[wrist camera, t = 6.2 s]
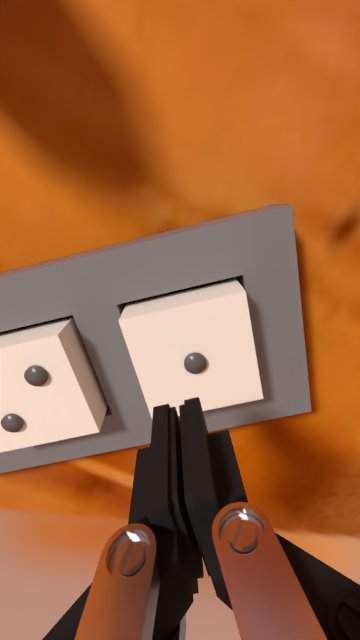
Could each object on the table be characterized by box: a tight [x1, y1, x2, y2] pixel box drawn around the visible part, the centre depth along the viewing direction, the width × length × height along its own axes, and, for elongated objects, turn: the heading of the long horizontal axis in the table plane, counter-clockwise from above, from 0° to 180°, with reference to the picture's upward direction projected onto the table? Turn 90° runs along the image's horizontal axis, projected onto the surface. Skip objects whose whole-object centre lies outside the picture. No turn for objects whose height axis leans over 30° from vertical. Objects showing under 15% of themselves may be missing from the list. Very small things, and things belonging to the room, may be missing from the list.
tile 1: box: [118, 279, 263, 419], centre depth 16 cm, size 6×6×3 cm
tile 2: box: [0, 317, 108, 453], centre depth 16 cm, size 6×6×3 cm
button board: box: [0, 204, 311, 473], centre depth 18 cm, size 30×12×2 cm, turn 104°
